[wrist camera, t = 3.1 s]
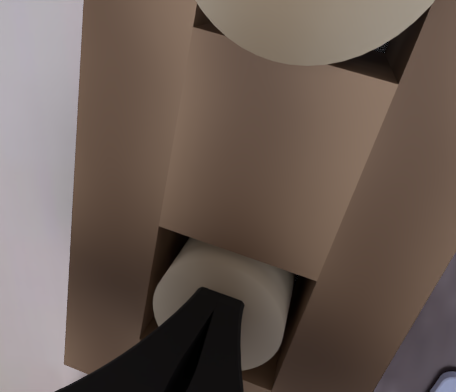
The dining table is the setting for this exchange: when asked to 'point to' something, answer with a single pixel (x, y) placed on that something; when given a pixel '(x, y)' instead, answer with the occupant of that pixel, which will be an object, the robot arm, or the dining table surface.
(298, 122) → the walnut block
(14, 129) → the dining table surface
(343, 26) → the peg front
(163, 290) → the peg back
